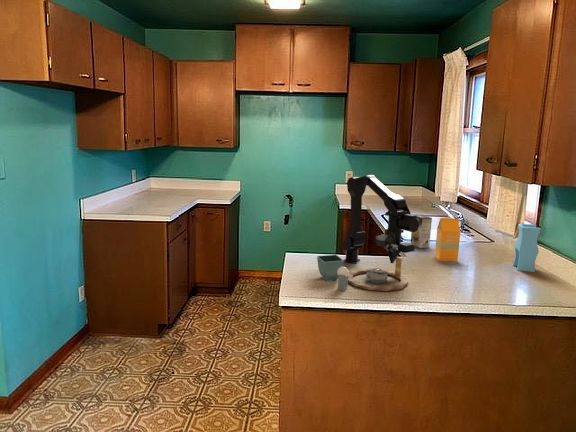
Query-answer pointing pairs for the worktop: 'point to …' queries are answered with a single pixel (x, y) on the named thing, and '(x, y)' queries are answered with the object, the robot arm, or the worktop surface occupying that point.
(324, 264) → the flower pot
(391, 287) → the brown ring with post
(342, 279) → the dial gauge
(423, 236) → the coffee box
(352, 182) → the robot arm
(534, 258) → the vase
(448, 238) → the orange juice
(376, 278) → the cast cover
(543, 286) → the worktop surface
